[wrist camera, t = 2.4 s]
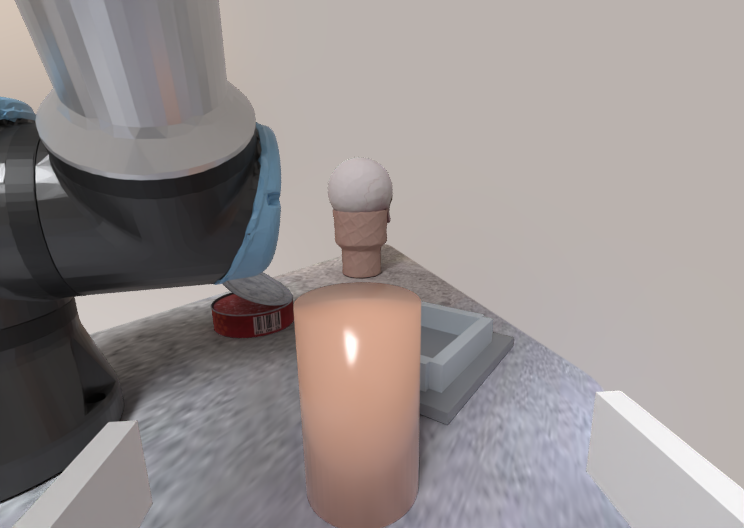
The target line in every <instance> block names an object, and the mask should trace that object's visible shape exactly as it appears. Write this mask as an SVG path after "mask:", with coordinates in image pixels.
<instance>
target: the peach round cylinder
mask: <svg viewBox="0 0 744 528" xmlns="http://www.w3.org/2000/svg"><path fill="white" fill-rule="evenodd" d="M293 309H294V323H295V337H296V351H297V365H298V379H299V394H300V408H301V422H302V436H303V450H304V464H305V478H306V492H307V498H308V501H309V503H310V505H311V507H312V509H313V510H314V512H315V513H316V514H317V515H318V516H319V517H320V518H322V519H323V520H324V521H326V522H327V523H329V524H331V525H333V526H335V527H338V528H382V527H385V526H388V525H390V524H392V523H394V522H396V521H397V520H399V519H400V518H401V517H402V516H404V515H405V514H406V513H407V512H408V511H409V509H410V508H411V507H412V505H413V504H414V502H415V499H416V497H417V493H418V485H419V419H420V350H421V299H420V298H419V296H418V295H417V294H415V293H414V292H412V291H410V290H408V289H405V288H402V287H399V286H394V285H389V284H382V283H370V282H355V283H342V284H335V285H329V286H324V287H320V288H317V289H314V290H311V291H309V292H306V293H305V294H303V295H301V296H300V297H298V298H297V299H296V300H295V302H294V305H293Z"/></svg>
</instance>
